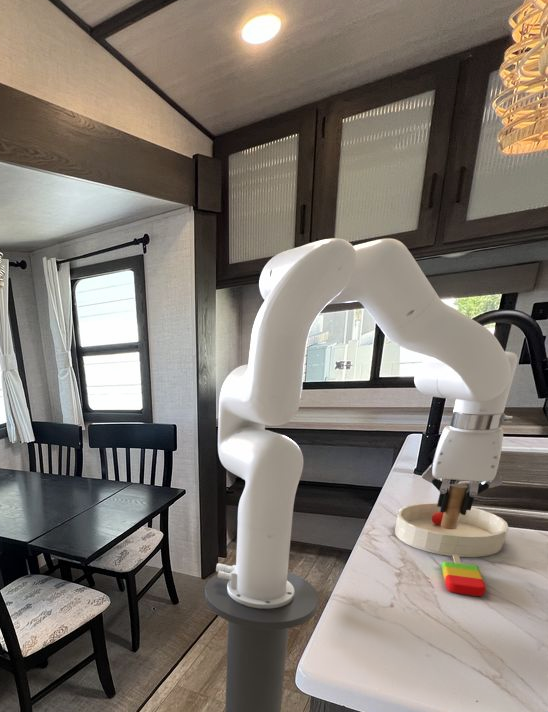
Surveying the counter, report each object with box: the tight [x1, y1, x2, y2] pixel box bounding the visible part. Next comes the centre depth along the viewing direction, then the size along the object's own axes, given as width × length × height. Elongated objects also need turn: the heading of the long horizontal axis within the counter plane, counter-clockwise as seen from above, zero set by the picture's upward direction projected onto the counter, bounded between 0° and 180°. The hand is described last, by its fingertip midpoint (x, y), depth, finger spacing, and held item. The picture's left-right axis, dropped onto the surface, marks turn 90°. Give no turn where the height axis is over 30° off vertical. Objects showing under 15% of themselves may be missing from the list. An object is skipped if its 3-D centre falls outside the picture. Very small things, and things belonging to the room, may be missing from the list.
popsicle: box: [441, 554, 487, 597], centre depth 88 cm, size 6×15×2 cm, turn 152°
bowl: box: [394, 502, 509, 558], centre depth 102 cm, size 19×19×4 cm
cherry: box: [432, 512, 443, 525], centre depth 107 cm, size 3×3×3 cm
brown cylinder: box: [441, 483, 469, 529], centre depth 95 cm, size 3×3×9 cm
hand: (452, 510), depth 96 cm, fingers closed on brown cylinder, 2 cm apart
